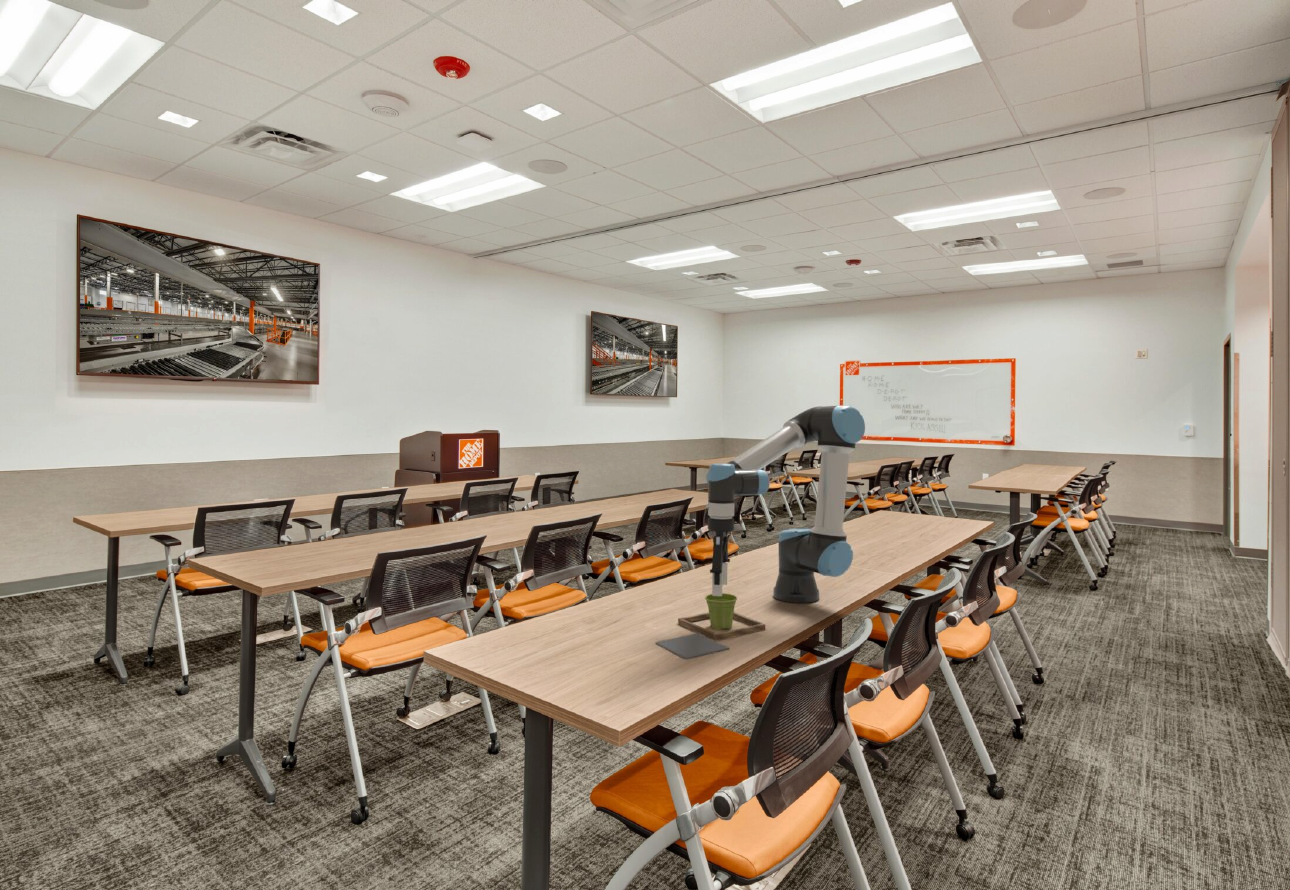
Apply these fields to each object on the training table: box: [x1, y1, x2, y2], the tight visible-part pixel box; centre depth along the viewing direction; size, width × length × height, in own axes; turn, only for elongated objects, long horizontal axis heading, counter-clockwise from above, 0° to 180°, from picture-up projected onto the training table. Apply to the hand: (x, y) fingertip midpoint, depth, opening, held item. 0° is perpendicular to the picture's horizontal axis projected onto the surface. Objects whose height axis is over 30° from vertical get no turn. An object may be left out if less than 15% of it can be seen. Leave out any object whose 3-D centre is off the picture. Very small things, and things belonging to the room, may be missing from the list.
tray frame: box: [677, 611, 766, 642], centre depth 190 cm, size 18×18×2 cm
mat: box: [655, 632, 730, 661], centre depth 173 cm, size 14×14×1 cm
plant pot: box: [704, 592, 738, 630], centre depth 189 cm, size 9×9×9 cm
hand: (720, 589), depth 189 cm, fingers open, 13 cm apart
